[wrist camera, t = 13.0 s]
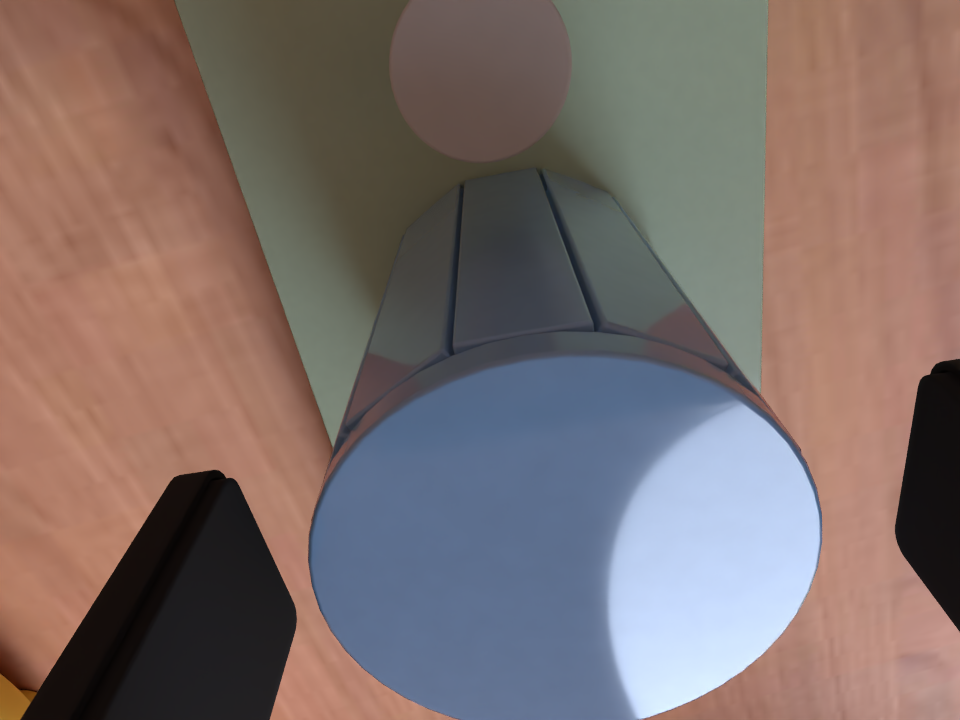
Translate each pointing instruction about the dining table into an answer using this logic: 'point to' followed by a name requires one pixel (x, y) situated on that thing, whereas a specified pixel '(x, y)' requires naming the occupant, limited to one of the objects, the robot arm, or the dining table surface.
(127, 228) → the dining table surface
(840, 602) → the dining table surface
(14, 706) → the teapot
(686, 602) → the blue faceted cylinder
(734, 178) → the rack
